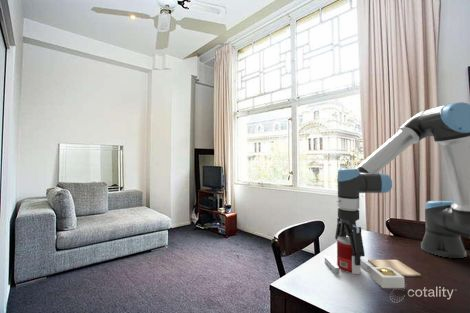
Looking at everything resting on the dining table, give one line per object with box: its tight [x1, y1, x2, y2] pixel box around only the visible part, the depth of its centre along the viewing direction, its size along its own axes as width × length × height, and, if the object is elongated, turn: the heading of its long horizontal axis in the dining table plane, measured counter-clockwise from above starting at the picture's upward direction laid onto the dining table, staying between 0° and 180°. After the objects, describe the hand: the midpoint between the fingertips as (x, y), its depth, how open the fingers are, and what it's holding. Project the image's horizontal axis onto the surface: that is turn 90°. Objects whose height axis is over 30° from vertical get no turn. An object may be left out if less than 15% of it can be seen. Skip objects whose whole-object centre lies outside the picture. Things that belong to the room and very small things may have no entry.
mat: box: [367, 259, 422, 277], centre depth 88 cm, size 12×12×1 cm
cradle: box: [324, 255, 374, 276], centre depth 88 cm, size 14×10×2 cm
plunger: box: [380, 268, 394, 275], centre depth 78 cm, size 4×4×3 cm
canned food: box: [336, 236, 353, 274], centre depth 88 cm, size 8×8×11 cm
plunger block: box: [369, 266, 405, 289], centre depth 78 cm, size 7×7×4 cm
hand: (348, 265), depth 88 cm, fingers open, 10 cm apart
